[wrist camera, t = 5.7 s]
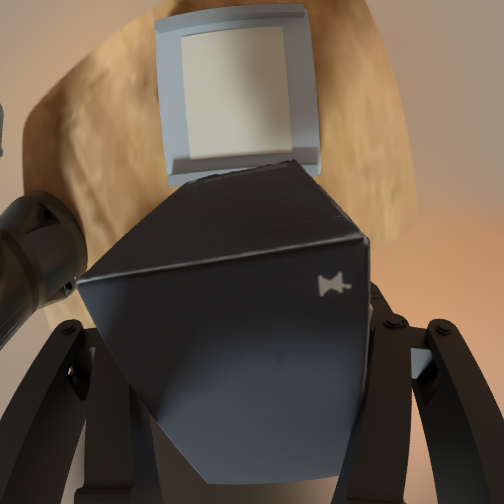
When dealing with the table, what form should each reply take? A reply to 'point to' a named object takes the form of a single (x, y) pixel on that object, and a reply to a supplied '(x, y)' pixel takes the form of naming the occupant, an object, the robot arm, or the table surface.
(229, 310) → the small box
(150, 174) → the table surface
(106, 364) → the robot arm
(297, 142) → the dock
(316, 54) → the table surface
